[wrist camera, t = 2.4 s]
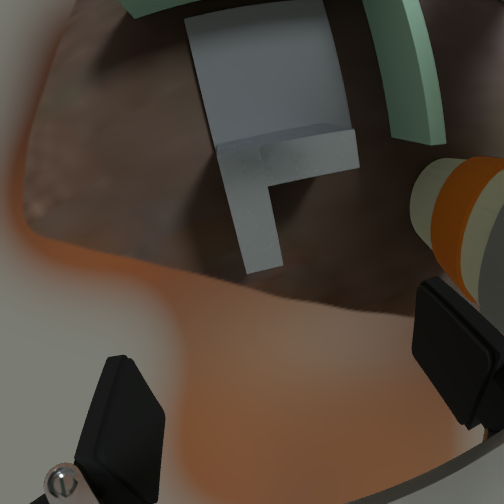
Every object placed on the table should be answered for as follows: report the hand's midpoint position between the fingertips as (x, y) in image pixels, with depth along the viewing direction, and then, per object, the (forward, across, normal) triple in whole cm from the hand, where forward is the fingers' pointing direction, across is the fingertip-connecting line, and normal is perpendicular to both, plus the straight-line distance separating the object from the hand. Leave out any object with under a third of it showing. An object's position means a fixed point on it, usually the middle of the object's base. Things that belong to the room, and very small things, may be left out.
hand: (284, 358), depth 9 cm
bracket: (+18, -4, -1) cm, 18 cm away
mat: (+18, -4, -10) cm, 21 cm away
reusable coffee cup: (+18, -20, +4) cm, 27 cm away
